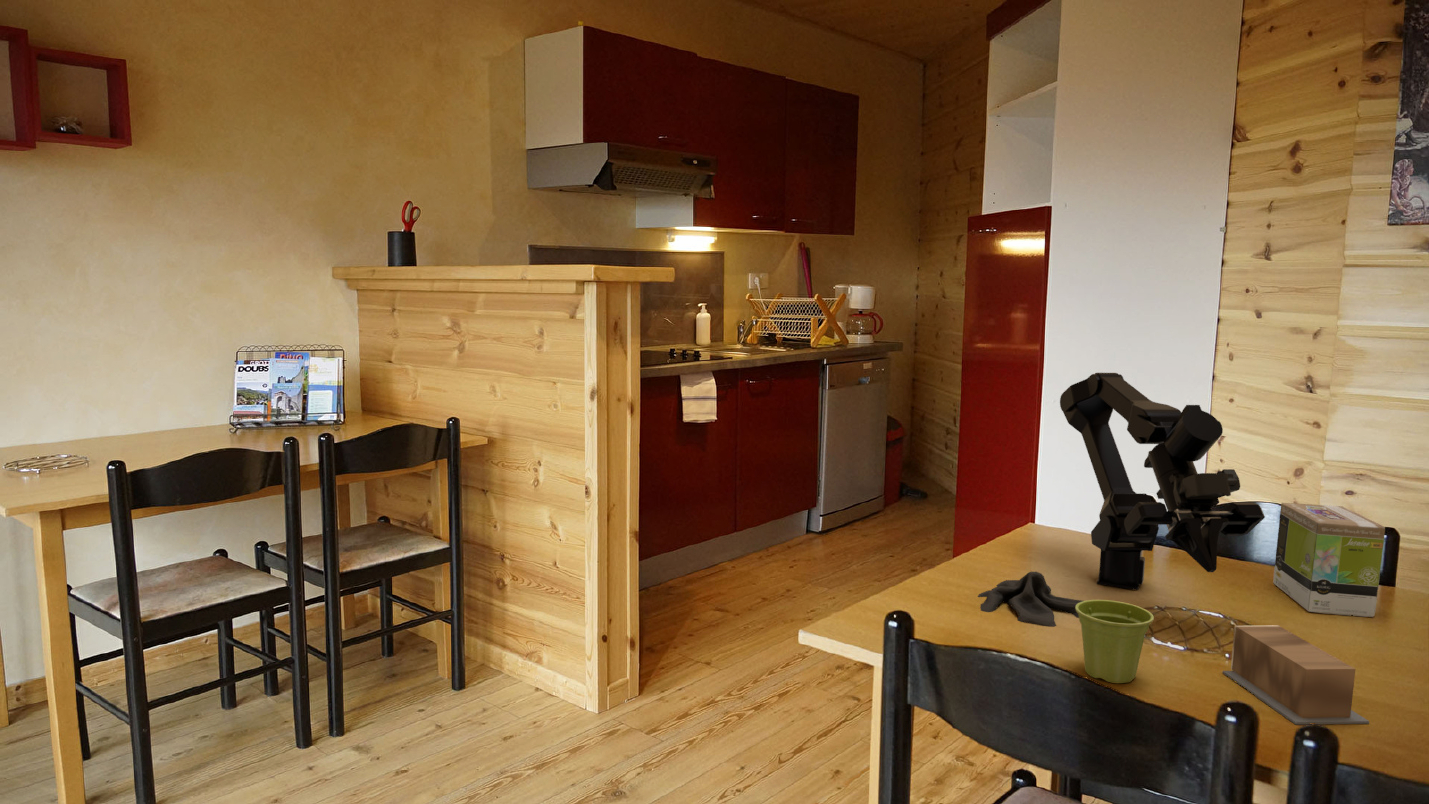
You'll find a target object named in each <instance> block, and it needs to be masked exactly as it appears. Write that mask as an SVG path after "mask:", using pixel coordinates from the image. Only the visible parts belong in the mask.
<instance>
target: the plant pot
mask: <svg viewBox="0 0 1429 804" xmlns="http://www.w3.org/2000/svg"><path fill="white" fill-rule="evenodd" d="M1075 609H1076V612H1077V613H1078V614H1079V618H1078V619H1079V620H1078V621H1079V622H1080V624H1081V635H1082V646H1083V661H1084V670H1085V673H1086V674H1088V675H1089V676H1090V677H1091V678H1094V679H1102V680H1104V681H1106V682H1108V683H1113V684H1114V683H1115V684H1127V683H1131V682H1132V681H1133V679H1135V678H1136V676H1137V672H1138V666H1139V663H1140V658H1141V653H1142V649H1143V644H1144V639H1145V636H1146V633H1147V632H1148V631H1149V628H1150V624H1152V623H1153V622H1154V618H1155V617H1154V615H1153V613H1152V612H1150V611H1149V610H1147V609H1145V608H1143V607H1141V606H1138V605H1135V604H1132V603H1128V602H1122V601H1119V600H1117V601H1116V600H1110V599H1109V600H1108V599H1090V600H1089V599H1087V600H1083V601H1082V602H1080V603H1078V604H1077V605H1076V606H1075Z"/></svg>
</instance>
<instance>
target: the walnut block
mask: <svg viewBox="0 0 1429 804" xmlns="http://www.w3.org/2000/svg"><path fill="white" fill-rule="evenodd" d="M1230 670H1231V671H1235V672H1236V673H1237V674H1239V675H1240V676H1242V677H1243V678H1245V679H1246V680H1248V681H1249V682H1251V683H1252V684H1253V685H1255V686H1256V687H1258V688H1259V689H1261V690H1262V691H1264V692H1265V693H1267V694H1268V695H1269V696H1271V697H1272V698H1274V699H1275V700H1277V701H1278V702H1280V703H1281V704H1283V705H1284V706H1285V707H1287V708H1288V709H1290V710H1291V711H1293V712H1294V713H1296V714H1297V715H1299V716H1300V717H1301V718H1315V717H1350V715H1351V710H1352V705H1353V703H1352V702H1353V696H1354V695H1353V694H1354V687H1355V680H1356V679H1355V677H1356V668H1355V667H1353V666H1351V665H1350V664H1347V663H1346V662H1344V661H1343V660H1341V659H1339V658H1337V657H1335V656H1334V655H1331V654H1329V653H1328V652H1326V651H1325V650H1323V649H1321V648H1319V647H1318V646H1316V645H1314V644H1312V643H1311V642H1308V641H1307V640H1305V639H1303V638H1302V637H1300V636H1298V635H1296V634H1294V633H1293V632H1291V631H1289V630H1287V629H1285V628H1284V627H1282V626H1280V625H1272V624H1271V625H1270V624H1269V625H1268V624H1267V625H1234V630H1233V641H1232V651H1231V664H1230Z"/></svg>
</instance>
